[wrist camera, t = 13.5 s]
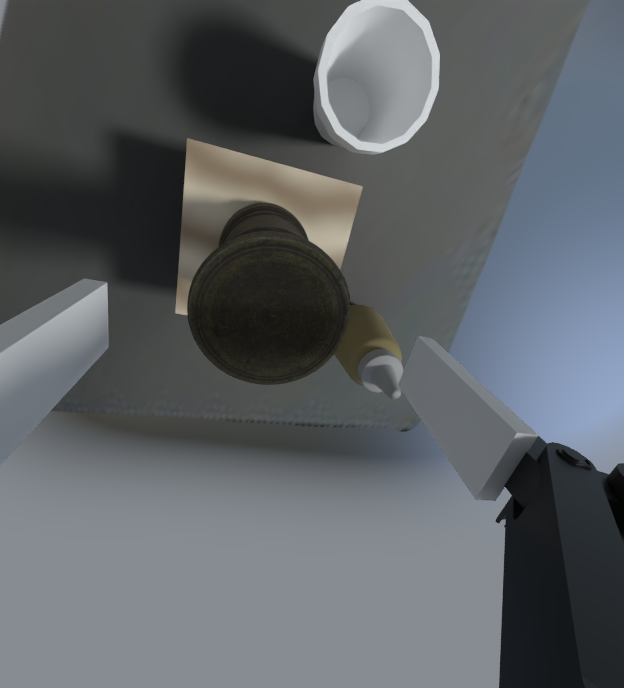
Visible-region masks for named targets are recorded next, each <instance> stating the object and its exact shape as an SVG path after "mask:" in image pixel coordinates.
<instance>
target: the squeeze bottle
mask: <svg viewBox="0 0 624 688" xmlns="http://www.w3.org/2000/svg"><path fill="white" fill-rule="evenodd" d="M334 355H335V356H336V357H337V359H338V360H339V362H340V363H341V365H342V366H343V367H344V369H345V370H346V372H347V373H348V375H349V376H350V378H351V379H352V380H354V381H355V382H356V383H358V384H360V385H364V387H366V388H367V389H368V390H369V391H373V392H384V393H385V394H386V395H388V396H389V397H390V398H391V399H397V398H399V397H400V395H401V391H400V388H399V386H398V383H399V381H400V379H401V377H402V374H403V367H402V364H401V361H402V353H401V351H400V348H399V345H398V344H397V342H396V340H395V339H394V337H393V335H392V334H391V332H390V330H389V329H388V327H387V325H386V323H385V322H384V320H383V318H382V317H381V315H380V314H378V313H377V312H376V311H375V310H374V309H373V308H370V307H367V306H364V305H350V318H349V323H348V327H347V330H346V333H345V336H344V338H343V340H342V342H341V344H340V346H339V347H338V349H337V351H336V352H335V353H334Z"/></svg>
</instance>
